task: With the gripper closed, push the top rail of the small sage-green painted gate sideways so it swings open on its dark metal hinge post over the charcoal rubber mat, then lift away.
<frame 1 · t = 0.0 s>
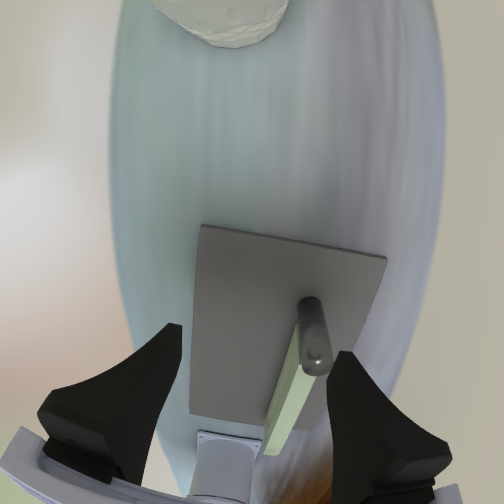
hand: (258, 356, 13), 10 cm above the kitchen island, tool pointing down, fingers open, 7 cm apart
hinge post: (309, 303, 23), resting on mat
mat: (270, 355, 26), on the kitchen island
gate: (286, 399, 24), point 3 cm above the kitchen island, hinge at 0.0°
white cup: (235, 9, 15), on the kitchen island
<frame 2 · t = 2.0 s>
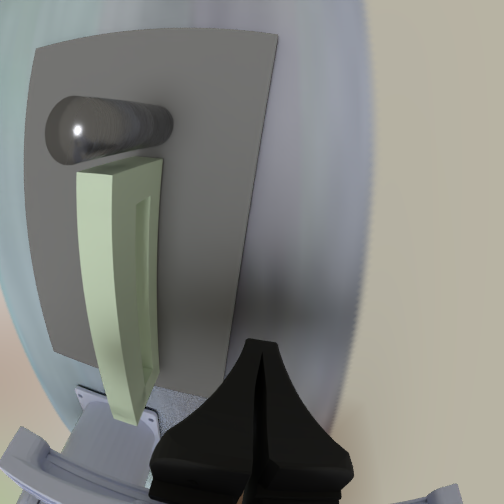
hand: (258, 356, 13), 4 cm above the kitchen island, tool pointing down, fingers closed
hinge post: (157, 125, 13), resting on mat
mat: (117, 234, 15), on the kitchen island
gate: (126, 307, 13), point 3 cm above the kitchen island, hinge at 0.0°
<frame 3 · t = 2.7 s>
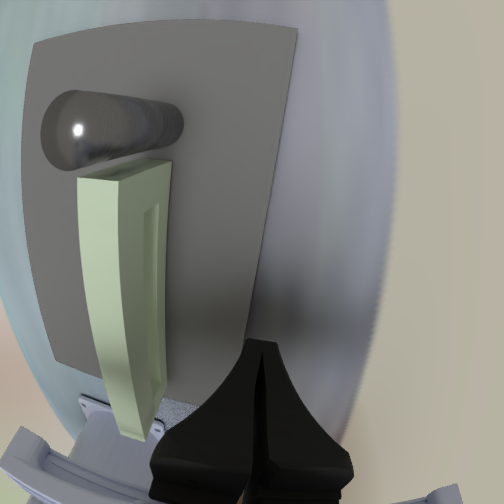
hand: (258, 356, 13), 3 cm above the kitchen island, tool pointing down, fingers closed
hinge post: (166, 125, 12), resting on mat
mat: (121, 242, 14), on the kitchen island
gate: (133, 321, 12), point 3 cm above the kitchen island, hinge at 0.0°
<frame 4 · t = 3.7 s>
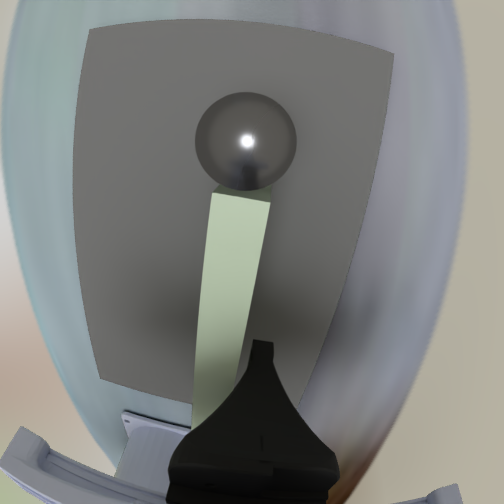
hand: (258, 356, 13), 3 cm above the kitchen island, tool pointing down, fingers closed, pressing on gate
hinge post: (261, 135, 12), resting on mat
mat: (200, 256, 14), on the kitchen island
gate: (223, 341, 12), point 3 cm above the kitchen island, hinge at 1.0°, touching gripper
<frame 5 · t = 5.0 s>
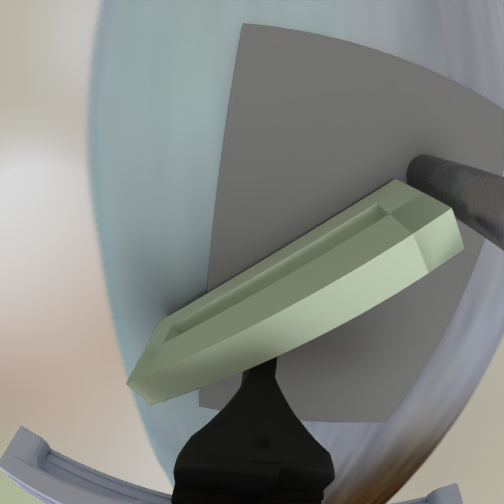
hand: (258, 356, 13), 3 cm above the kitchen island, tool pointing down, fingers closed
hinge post: (420, 174, 12), resting on mat
mat: (351, 282, 14), on the kitchen island
gate: (273, 299, 11), point 3 cm above the kitchen island, hinge at 46.5°, touching gripper
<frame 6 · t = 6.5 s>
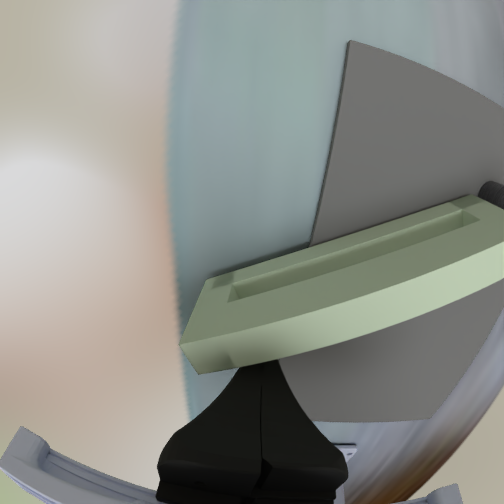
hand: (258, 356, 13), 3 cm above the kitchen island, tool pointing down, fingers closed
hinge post: (485, 197, 12), resting on mat
mat: (423, 292, 14), on the kitchen island
gate: (366, 274, 11), point 3 cm above the kitchen island, hinge at 60.4°, touching gripper
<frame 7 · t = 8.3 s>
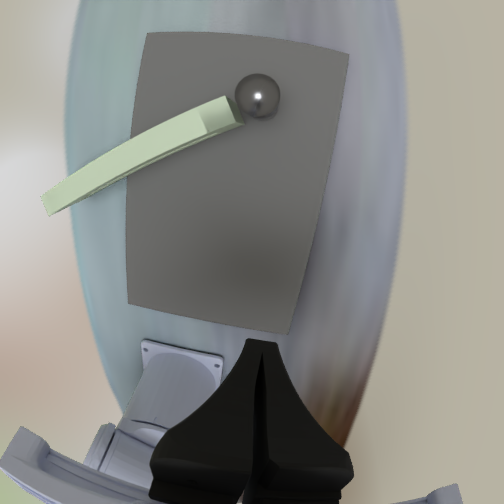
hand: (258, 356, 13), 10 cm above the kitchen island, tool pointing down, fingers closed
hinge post: (263, 107, 18), resting on mat
mat: (220, 187, 21), on the kitchen island
gate: (135, 156, 17), point 3 cm above the kitchen island, hinge at 60.7°
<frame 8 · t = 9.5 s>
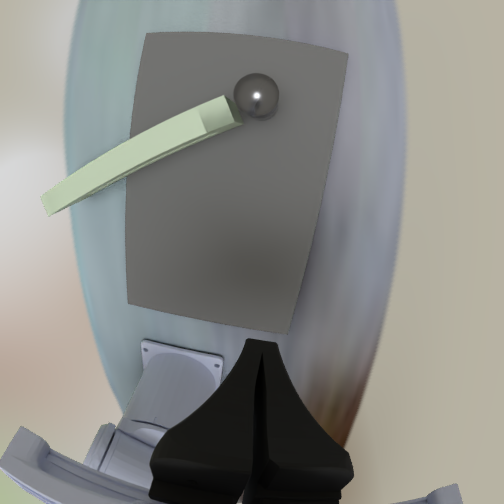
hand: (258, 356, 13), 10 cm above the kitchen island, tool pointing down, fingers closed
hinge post: (262, 106, 18), resting on mat
mat: (220, 187, 21), on the kitchen island
gate: (134, 156, 17), point 3 cm above the kitchen island, hinge at 60.7°
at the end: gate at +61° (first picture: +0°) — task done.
